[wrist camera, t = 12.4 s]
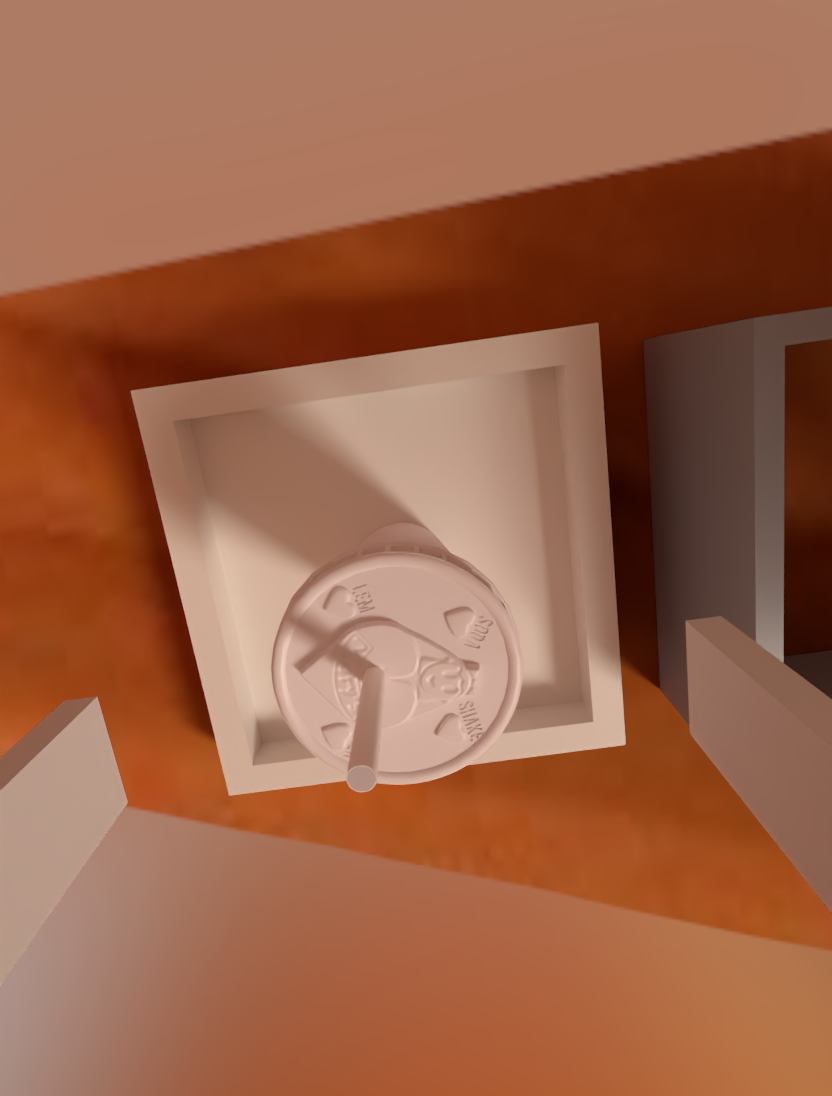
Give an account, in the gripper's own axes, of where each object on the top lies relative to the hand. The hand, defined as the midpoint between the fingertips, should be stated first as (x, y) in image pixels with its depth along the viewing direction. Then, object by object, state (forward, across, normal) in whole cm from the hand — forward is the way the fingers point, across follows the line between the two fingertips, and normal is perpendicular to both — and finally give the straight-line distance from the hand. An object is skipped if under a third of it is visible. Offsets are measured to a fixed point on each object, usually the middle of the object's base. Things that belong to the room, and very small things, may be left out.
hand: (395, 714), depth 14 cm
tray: (+12, 0, 0) cm, 12 cm away
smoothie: (+12, 0, 0) cm, 12 cm away
